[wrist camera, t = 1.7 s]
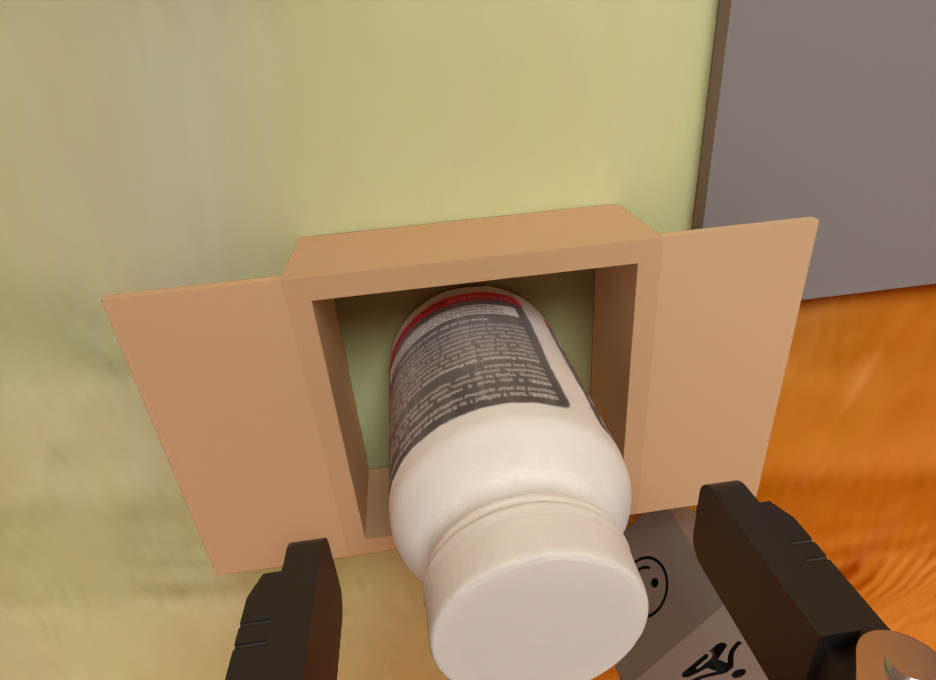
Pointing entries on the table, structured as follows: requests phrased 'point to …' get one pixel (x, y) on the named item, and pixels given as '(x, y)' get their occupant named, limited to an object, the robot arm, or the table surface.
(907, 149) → the mat
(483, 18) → the table surface
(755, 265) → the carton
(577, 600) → the pill bottle
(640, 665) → the dice cube
